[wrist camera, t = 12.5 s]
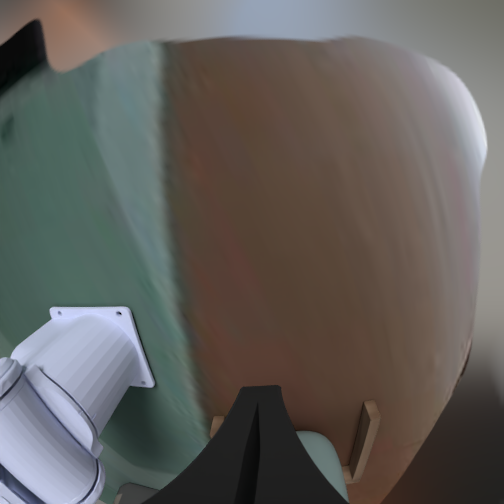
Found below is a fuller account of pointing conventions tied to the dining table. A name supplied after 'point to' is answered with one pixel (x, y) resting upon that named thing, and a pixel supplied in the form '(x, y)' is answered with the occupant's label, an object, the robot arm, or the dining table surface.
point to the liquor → (133, 494)
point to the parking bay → (361, 446)
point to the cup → (325, 459)
